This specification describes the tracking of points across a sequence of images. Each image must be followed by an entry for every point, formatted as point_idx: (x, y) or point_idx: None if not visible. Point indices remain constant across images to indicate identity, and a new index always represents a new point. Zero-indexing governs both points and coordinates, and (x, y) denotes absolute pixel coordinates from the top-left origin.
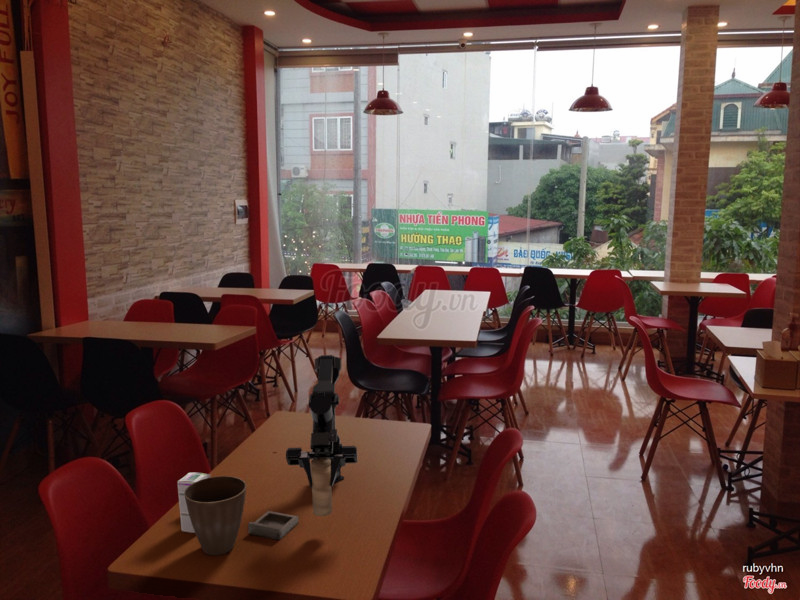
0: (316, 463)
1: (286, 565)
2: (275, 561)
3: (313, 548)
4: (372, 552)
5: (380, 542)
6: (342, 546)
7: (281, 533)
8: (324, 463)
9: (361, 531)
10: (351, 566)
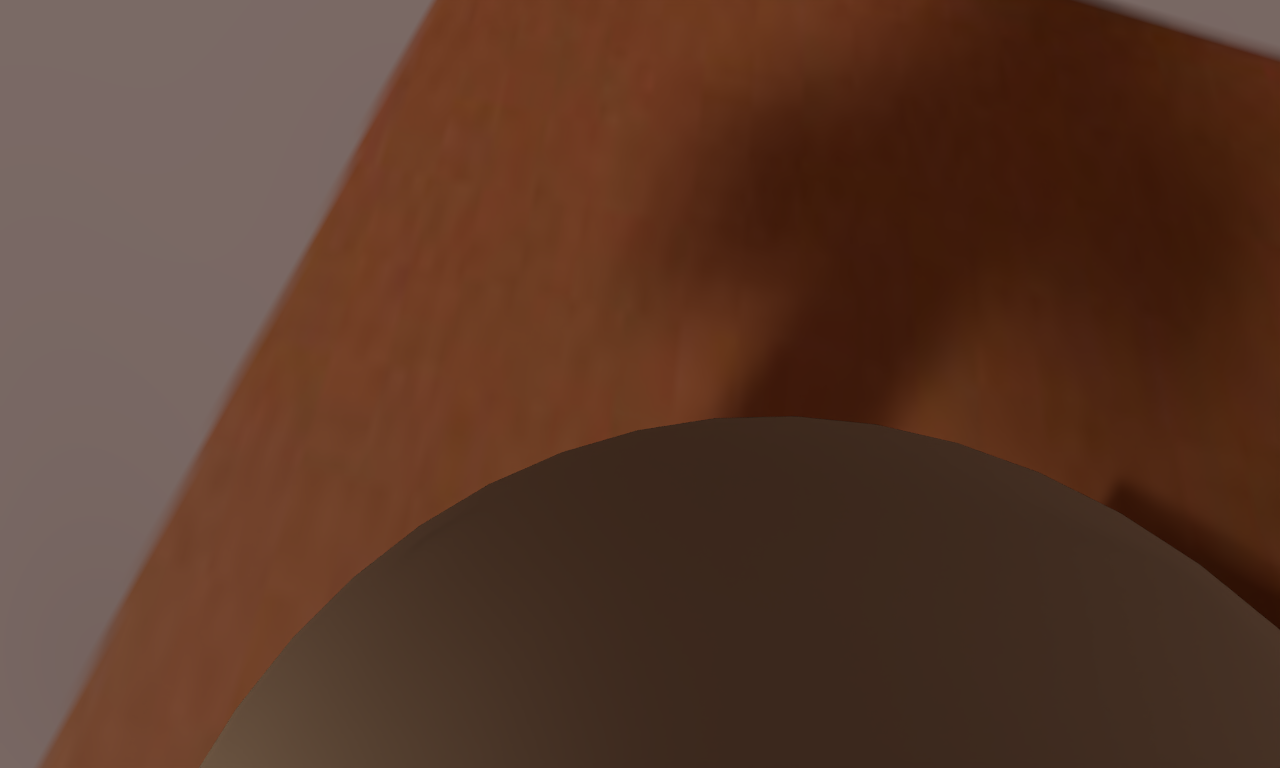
0: (1121, 758)
1: (976, 212)
2: (1062, 275)
3: (785, 387)
4: (385, 249)
5: (297, 361)
6: (570, 367)
7: None
8: (580, 603)
9: None
10: (550, 124)
